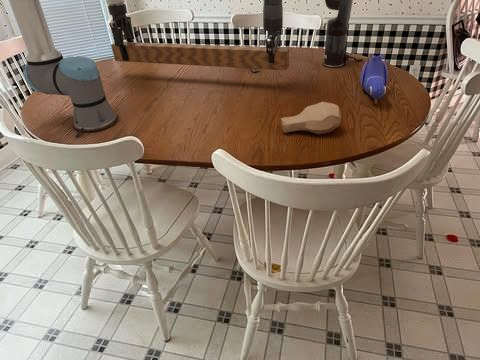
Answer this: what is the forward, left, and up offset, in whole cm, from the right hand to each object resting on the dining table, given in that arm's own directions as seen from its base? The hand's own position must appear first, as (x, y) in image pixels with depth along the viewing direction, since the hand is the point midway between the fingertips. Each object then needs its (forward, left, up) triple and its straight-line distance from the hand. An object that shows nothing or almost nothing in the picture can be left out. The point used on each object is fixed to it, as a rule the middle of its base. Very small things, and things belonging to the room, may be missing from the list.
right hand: (273, 60), depth 146 cm
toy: (-26, +32, -11) cm, 42 cm away
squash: (+11, +39, -11) cm, 43 cm away
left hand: (+47, -51, -2) cm, 70 cm away
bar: (+23, -26, -3) cm, 35 cm away
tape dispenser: (-7, -31, -11) cm, 34 cm away
